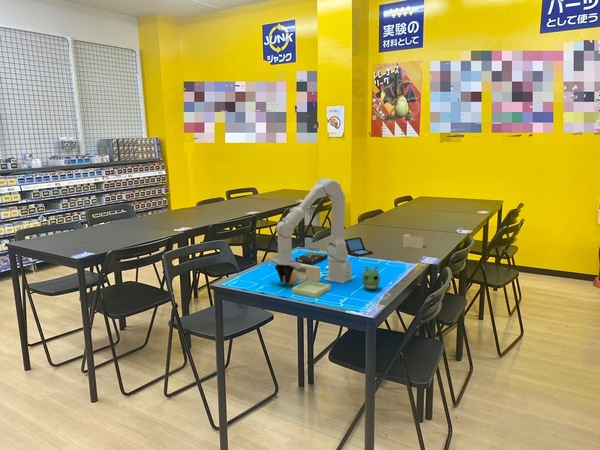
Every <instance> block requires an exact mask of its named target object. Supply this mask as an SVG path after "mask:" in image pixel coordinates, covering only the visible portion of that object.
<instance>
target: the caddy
mask: <svg viewBox="0 0 600 450" xmlns="http://www.w3.org/2000/svg"><path fill="white" fill-rule="evenodd" d="M297 279H298V278H297V271H296V270H293V272H292V274H291V277H290V282H289V283H285V275H283V282H282V283H283V284H286V285H296V284H297V283H298V282H297V281H298V280H297Z"/></svg>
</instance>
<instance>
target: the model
mask: <svg viewBox="0 0 600 450" xmlns="http://www.w3.org/2000/svg"><path fill="white" fill-rule="evenodd" d="M402 238H403V239H402V240H403V241H402V243H403V244H402V248H411V247H413V248H414V249H424V248H423V247H424V234H422V235H420V236H413V235H411V233H404V234H403V237H402Z"/></svg>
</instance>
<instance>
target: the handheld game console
mask: <svg viewBox="0 0 600 450" xmlns="http://www.w3.org/2000/svg"><path fill="white" fill-rule="evenodd" d="M344 240H345V242H346V248H347V251H348V256H352V257H355V256H356V258H360V257H363V256H364V255H365V256H368V255H373V254H374V251H372V250H368V249H366V248H365V245H364V242H363V239H362V237H353V238H352V237H351V238H347V239H344ZM359 256H360V257H359Z"/></svg>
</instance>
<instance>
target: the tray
mask: <svg viewBox="0 0 600 450" xmlns="http://www.w3.org/2000/svg"><path fill="white" fill-rule="evenodd" d="M330 290H331V284H328V283H323V282H320V281H318V282H316V281H311V280H306V281H303V282H301V283H300V284H297V285H296V286H293V287H292V288H291V294H295V295H298V296H299V295H300V296H304V297H308V298H313V299H316V298H318V297H320V296H322V295H324V294H325V293H328V292H329V291H330Z"/></svg>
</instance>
